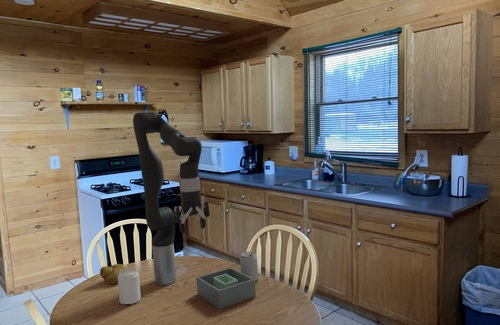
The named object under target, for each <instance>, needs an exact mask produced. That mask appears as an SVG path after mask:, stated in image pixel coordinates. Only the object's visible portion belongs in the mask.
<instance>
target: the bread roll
mask: <svg viewBox="0 0 500 325" xmlns="http://www.w3.org/2000/svg"><path fill="white" fill-rule="evenodd" d="M127 269H128V268H127V267H126V266H125V265H124V264H122V263H121V264H120V263H116V264H112V265H111V266H102V267H101V268H100V269H99V273H100V274H99V275H100V277H101V278H103V281H104V283H105V284H107V285H116V283H117V284H118V275H119V272H121V271H123V270H127Z"/></svg>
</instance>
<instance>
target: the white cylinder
mask: <svg viewBox="0 0 500 325" xmlns="http://www.w3.org/2000/svg"><path fill="white" fill-rule="evenodd" d="M126 269H127V270H123V271H121V272H119V275H118V283H117V286H118V296H119V300H118V301H119V303H120V304H121V305H125V304H130V305H134V304H136V303H138V302H140V300H141V299H142V298H141V295H142V294H141V282H140V274H139V271H138V269H135V268H126ZM133 303H134V304H133Z"/></svg>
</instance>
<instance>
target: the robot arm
mask: <svg viewBox="0 0 500 325" xmlns="http://www.w3.org/2000/svg"><path fill="white" fill-rule="evenodd" d="M132 125H133V126H132V127H133V131H134V135H135V139H136V144H137V149H138V155H139V163H140V164H139V165H140V172H141V178H142V183H143V192H144V204H145V206H144V207H145V209H144V210H145V221H146V225H147V228H148V229H149V231H152V232H157V233H156V235H155V236H153V237H152V239H151V245H152V247H151V248H152V249H151V250H152V261H153V272H154V273H153V275H154V284H155V285H156V286H169V285H172V284H174V283H175V282H176V281H177V278H176V276H177V275H176V262H175V261H176V259H175V248H174V246H175V245H174V239H175V236H176V235H175V230H176V229H175V228H176V226H175V223H177V224H179V231H180V233H182V234H185V233H186V226H185V221H186V220H187V219H188V218H189V217H192V216H198V217H199V222H200V223H199V225H200V229H203V230H204V229H205V228H206V227H207V226H206V225H207V224H206V219H207V218H209V217H210V207H209V206H210V205H209V202H208V201H204V200H203V201H202V202H201V200H202V196H201V194H202V193H201V182H200V174H199V166H200V165H199V164H200V160H201V154H202V148H203V147H202V146H203V145H202V142H201V139H200V138H198V137H196V136H190V137H189V136H187V137H186V136H185V134H184V133H183V132H182V131H180V130H178V129H176V128H174V127H173V126H171V125H170V124H169V123H168V122H167V121H166V120H165V118H163V117H162V116H161V115H159V114H158V113H157V112H153V111H148V112H146V111H145V112H143V111H142V112H136V113H134V115H133V118H132ZM155 133H157V134H159V137H160V139H161V141H162V142H163V143H164V144H166V145H168V147H170V148H171V149H172V151H173V153H174V154H175V155H177V156H180V157H188V158H187V160H186V161H184V162H181V163H180V164H179V175H180V182H179V188H180V202H181V205H180V206H175V205H174V206H173V210H172V208H170V207H168V206H162V207H159V205H160V204H159V196H160V193H161V189H162V187H163V185H164V184H163V183H164V179H165V175H164V174H165V173H164V167H163V162H162V160H161V158H160V157H159V156H158V154H157V153H156V152H155V151H154V150H153V148H152V147H151V145H150V143H149V140H148V137H147V136H148V134H155ZM201 208H202V210H203V211H202V210H201ZM181 211H182V212H181ZM180 213H181V214H180Z"/></svg>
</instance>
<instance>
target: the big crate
mask: <svg viewBox="0 0 500 325" xmlns="http://www.w3.org/2000/svg"><path fill="white" fill-rule="evenodd" d="M224 274H227V275H229V276H231V277H233V278H235V279H237V280H238V284H236V285H233V286H230V287H227V288H224V289H221V290H219V289H217V288H216V287H214V282H213V278H214V277H217V276H220V275H224ZM196 291H197V292H196V293H197V295H198V296H200V297H201V298H202V299H204V300H206V301H207V302H209V303H210V304H212V305H213V306H214V307H216V308H217V309H219V310H222V309H224V308H227V307H230V306H233V305H235V304H238V303H241V302H244V301H247V300H249V299H251V298H255V297H256V296H257V295H256V281H255V279H253V278H251V277H249V276H247V275H245V274H243V273H241V271H239V270H237V269H235V268H233V267H228V268H224V269H223V268H222V269H220V270H218V271H214V272H210V273H207V274H203V275H200V276H197V277H196Z"/></svg>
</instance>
